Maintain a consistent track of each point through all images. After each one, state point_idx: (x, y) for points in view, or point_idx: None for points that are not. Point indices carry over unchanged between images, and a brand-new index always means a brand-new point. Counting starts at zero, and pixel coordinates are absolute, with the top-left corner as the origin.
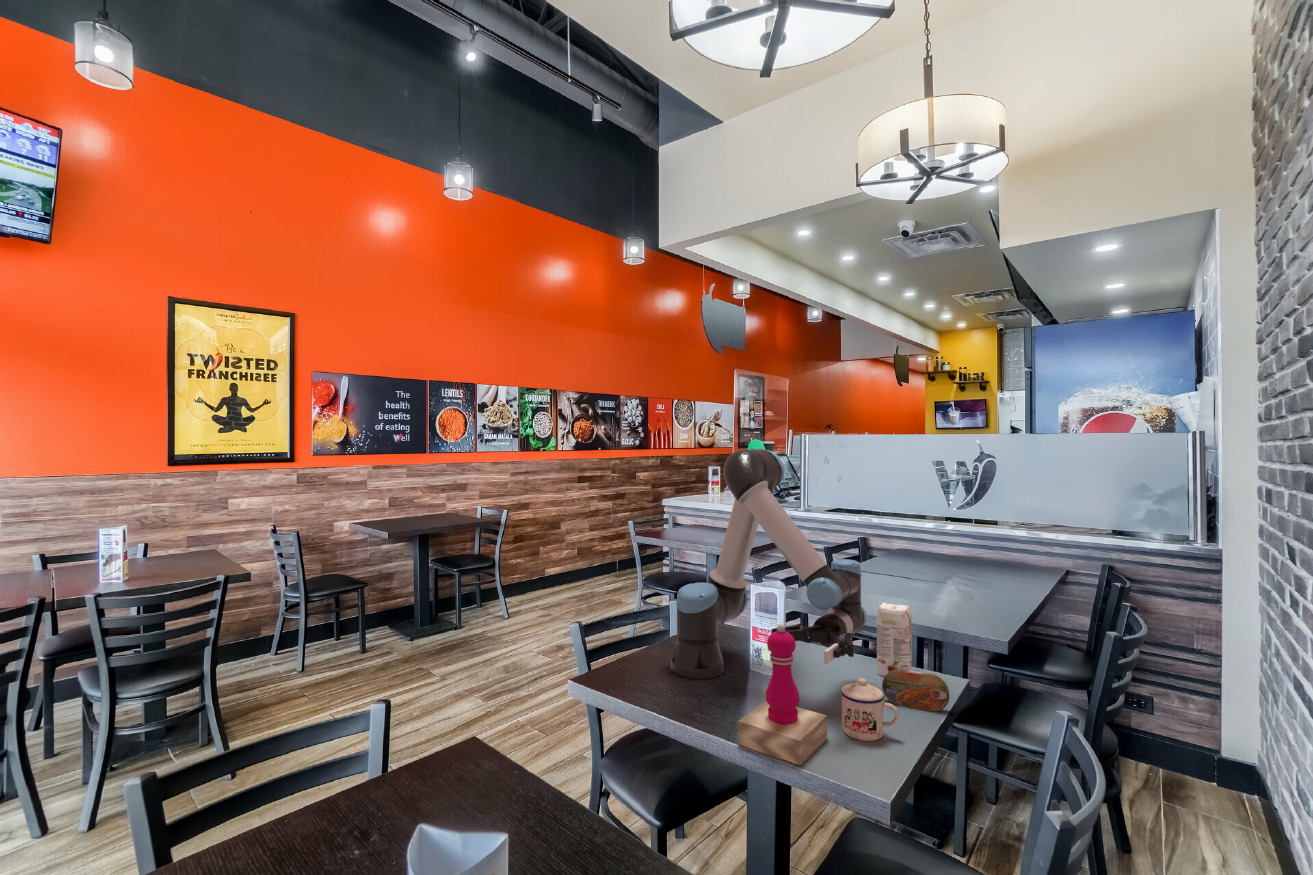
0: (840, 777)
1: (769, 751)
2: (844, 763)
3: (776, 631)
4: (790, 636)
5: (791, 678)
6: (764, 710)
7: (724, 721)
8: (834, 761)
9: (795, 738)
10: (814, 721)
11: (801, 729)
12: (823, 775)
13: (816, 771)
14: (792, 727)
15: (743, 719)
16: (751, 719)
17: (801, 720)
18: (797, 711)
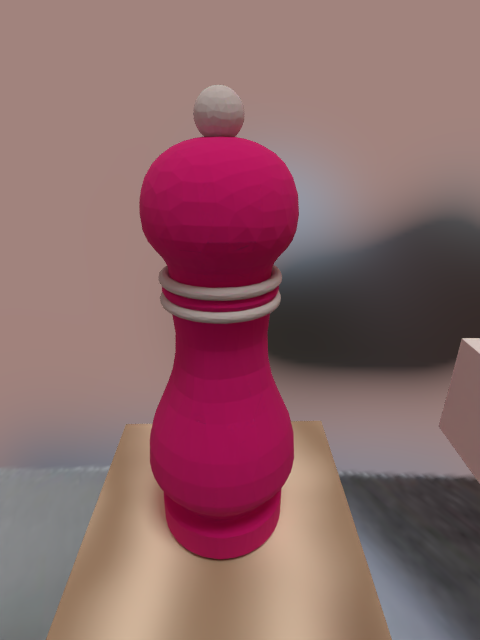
0: (26, 486)
1: None
2: (3, 557)
3: (250, 141)
4: (160, 156)
5: (173, 365)
6: (314, 521)
7: (472, 567)
8: (37, 550)
9: (140, 426)
10: (98, 554)
11: (136, 473)
12: (71, 472)
13: (90, 477)
14: None
15: (317, 433)
16: (300, 444)
17: (152, 530)
18: (165, 501)
